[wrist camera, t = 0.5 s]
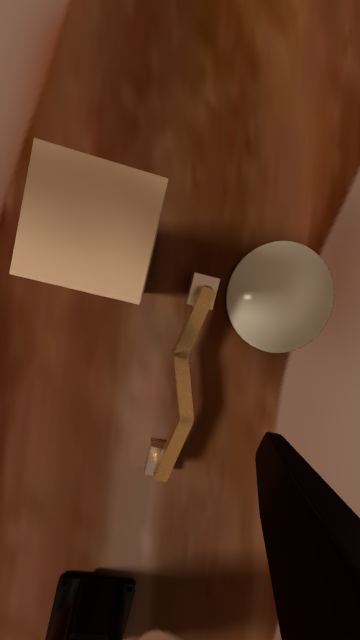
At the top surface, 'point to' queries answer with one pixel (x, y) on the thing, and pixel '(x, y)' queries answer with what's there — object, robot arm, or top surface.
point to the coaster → (280, 296)
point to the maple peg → (87, 223)
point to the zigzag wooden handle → (182, 378)
